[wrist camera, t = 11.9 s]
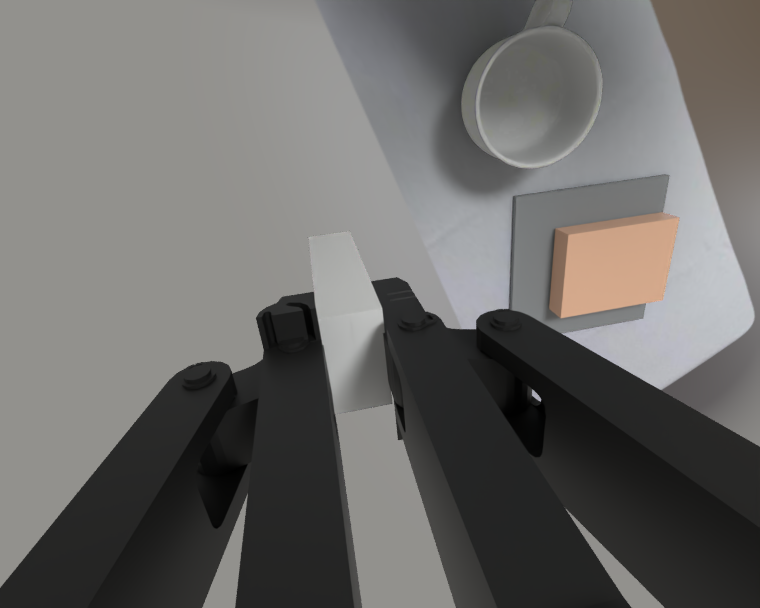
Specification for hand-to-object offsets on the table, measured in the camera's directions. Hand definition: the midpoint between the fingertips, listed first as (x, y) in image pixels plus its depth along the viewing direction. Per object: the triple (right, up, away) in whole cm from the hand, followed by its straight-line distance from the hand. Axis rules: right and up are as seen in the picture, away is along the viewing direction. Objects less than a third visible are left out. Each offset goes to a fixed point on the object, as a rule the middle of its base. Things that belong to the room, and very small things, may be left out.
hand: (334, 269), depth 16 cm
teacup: (+14, +20, +27) cm, 36 cm away
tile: (+22, +2, +34) cm, 40 cm away
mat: (+26, +4, +36) cm, 45 cm away
